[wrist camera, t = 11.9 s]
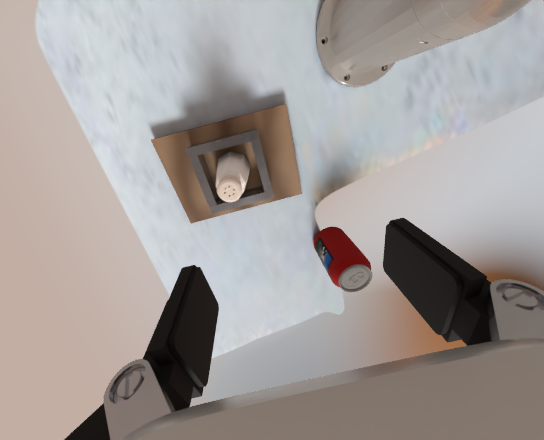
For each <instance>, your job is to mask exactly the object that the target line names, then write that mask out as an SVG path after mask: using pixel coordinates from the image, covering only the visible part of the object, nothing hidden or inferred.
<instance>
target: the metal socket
mask: <svg viewBox="0 0 544 440" xmlns="http://www.w3.org/2000/svg"><path fill="white" fill-rule="evenodd" d="M250 141H251V143H252V147H253V151H254V155H255V158H256V162H257V166H258V170H259V173H260V177H261V181H262V186H259V187H255V188H251V189H247V190H244V192H243V193H242V195H241V197H240V198H239V199H238V200H237V201H234V202H226V201H224V200H222V199H221V198H220V197H219V196H218V194H217V190H216V187H215V185H214V182H213V179H212V177H211V174H210V171H209V169H208V166H207V164H206V161H205V158H204V156H203V154H205V153H209V152H213V151H216V150H220V149H224V148H228V147H231V146H235V145H239V144H243V143H246V142H250ZM185 150H186V152H187V155H188V157H189V160H190V162H191V164H192V167H193V169H194V172H195V174H196V176H197V179H198V181H199V184H200V186H201V189H202V191H203V193H204V196H205V198H206V201H207V203H208V205H209V208H210V210H211V213H212V214H214V213H218V212H221V211H225V210H229V209H232V208H236V207H240V206H244V205H247V204H251V203H255V202H259V201H262V200H266V199H270V198H274V195H273V191H272V187H271V183H270V179H269V175H268V171H267V167H266V163H265V159H264V155H263V151H262V147H261V143H260V139H259V135H258V130H257V129H256V128H255V129H251V130H247V131H243V132H240V133H236V134H232V135H228V136H225V137H221V138H217V139H213V140H210V141H206V142H202V143H198V144H195V145H191V146H189V147H187V148H186V149H185Z"/></svg>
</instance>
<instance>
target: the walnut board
mask: <svg viewBox="0 0 544 440" xmlns="http://www.w3.org/2000/svg"><path fill="white" fill-rule="evenodd" d="M255 128H256V129H257V130H258V135H259V139H260V143H261V147H262V151H263V155H264V159H265V163H266V167H267V171H268V175H269V179H270V183H271V187H272V191H273V195H274V198H270V199H266V200H262V201H259V202H255V203H251V204H247V205H244V206H240V207H236V208H232V209H229V210H225V211H221V212H218V213H214V214H212V213H211V210H210V208H209V205H208V203H207V201H206V198H205V196H204V193H203V191H202V189H201V186H200V184H199V181H198V179H197V176H196V174H195V172H194V169H193V167H192V164H191V162H190V160H189V157H188V155H187V152H186V150H185V149H186V148H187V147H189V146H191V145H195V144H198V143H202V142H206V141H210V140H213V139H217V138H221V137H225V136H228V135H232V134H236V133H240V132H243V131H247V130H251V129H255ZM151 141H152V143H153V145H154V147H155V150H156V152H157V154H158V156H159V158H160V160H161V162H162V164H163V166H164V168H165V170H166V172H167V175H168V177H169V179H170V181H171V183H172V185H173V187H174V189H175V191H176V193H177V195H178V197H179V199H180V202H181V204H182V206H183V208H184V210H185V212H186V214H187V216H188V218H189V220H190V222H191V223H194V222H198V221H201V220H205V219H209V218H213V217H216V216H220V215H224V214H228V213H231V212H235V211H239V210H243V209H246V208H250V207H254V206H257V205H261V204H265V203H269V202H272V201H276V200H280V199H284V198H287V197H291V196H295V195H299V194H302V191H301V185H300V179H299V174H298V168H297V162H296V157H295V151H294V145H293V140H292V134H291V128H290V123H289V117H288V111H287V106H286V104H284V105H280V106H276V107H273V108H269V109H265V110H261V111H258V112H254V113H250V114H246V115H243V116H239V117H235V118H231V119H228V120H224V121H220V122H216V123H213V124H209V125H205V126H201V127H198V128H194V129H190V130H186V131H183V132H179V133H175V134H171V135H167V136H164V137H160V138H156V139H152V140H151ZM230 151H231V152H234V153H238V154H242V155H244V157H245V158H246V160H247V161H248V163H249V165H250V166H251V167H250V172H249V176H248V180H247V183H246V187H245V190H247V189H251V188H255V187H259V186H262V181H261V177H260V173H259V170H258V166H257V162H256V158H255V155H254V151H253V147H252V143H251V141H250V142H246V143H243V144H239V145H235V146H231V147H228V148H224V149H220V150H216V151H213V152H209V153H205V154H203V156H204V158H205V161H206V164H207V166H208V169H209V171H210V174H211V177H212V179H213V182H214V185H215V187H216V171H217V165H218V159H219V158H220V157H222V156H223V155H225V154H226V153H228V152H230ZM216 190H217V188H216Z"/></svg>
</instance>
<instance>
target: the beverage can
mask: <svg viewBox="0 0 544 440" xmlns="http://www.w3.org/2000/svg"><path fill="white" fill-rule="evenodd" d="M314 248H315V250H316V252H317V254H318V256H319V258H320V260H321V261H322V263H323V265H324V267H325V269H326V271H327V273H328V274H329V276H330V278H331V280H332V282H333V283H334V284H335V285H336V286H338V287H340V288H342V289H343V290H344V291H346V292H356V291H359V290H361V289H363V288H365V287H366V286H367V285H368V284H369V283H370V281H371V279H372V272H371V265H370V262H369V261H368V259H367V258H366V257H365V256H364V255H363V253H362V252H361V251H360V250H359V249H358V248H357V246H356V245H355V244H354V243H353V242H352V241H351V240H350V238H349V237H348V236H347V235H346V234H345V233H344V232H343V231H342V230H341V229H340V228H337V227H328V228H325V229H323V230H321V231H320V232H319V233H318V234H317V235H316V237H315V239H314Z"/></svg>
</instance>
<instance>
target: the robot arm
mask: <svg viewBox="0 0 544 440" xmlns="http://www.w3.org/2000/svg"><path fill="white" fill-rule="evenodd" d="M530 1H531V0H324V2H323V4H322V7H321V10H320V13H319V17H318V22H317V32H316V39H317V49H318V53H319V57H320V60H321V62H322V65H323V67H324V68H325V70H326V72H327V73H328V74H329V75H330V76H331V77H332V78H333V79H334V80H335V81H337V82H338V83H340V84H342V85H345V86H349V87H359V86H364V85H367V84H370V83H372V82H374V81H376V80H378V79H379V78H381V77H382V76H383V75H385V74H386V73H387V72H388V71H389V70H390V69H391V68H392V66H393V65H394V64H395V62H396V61H399V60H402V59H405V58H408V57H410V56H413V55H416V54H419V53H422V52H424V51H427V50H430V49H433V48H436V47H438V46H441V45H444V44H447V43H450V42H452V41H455V40H458V39H461V38H463V37H466V36H469V35H472V34H474V33H477V32H480V31H482V30H485V29H487V28H489V27H492V26H494V25H496V24H498V23H499V22H501V21H503V20H505V19H506V18H508V17H510V16H511V15H513V14H514V13H515V12H517V11H518V10H520V9H521V8H522V7H524V6H525V5H526V4H528V3H529V2H530ZM321 40H323V41H324V44H323V43H322V41H321ZM344 76H345V77H346V80H344ZM384 248H385V249H384V260H383V268H384V271H385V272H386V274H387V275H388V276H389V277H390V279H391V280H392V281H393V282H394V283H395V285H396V286H397V287H398V288H399V289H400V291H401V292H402V293H403V294H404V295H405V297H406V298H407V299H408V300H409V301H410V303H411V304H412V305H413V306H414V308H415V309H416V310H417V311H418V312H419V314H420V315H421V316H422V317H423V318H424V319H425V321H426V322H427V323H428V324H429V325H430V327H431V328H432V329H433V330H434V331H435V333H437V334H439V335H442V336H443V338H444V339H445V340H446V341H447V342H452V341H456V340H461V339H462V341H463V342H464V343H465V344H466V345H467V346H465V347H460V348H454V349H449V350H444V351H439V352H434V353H430V354H425V355H420V356H415V357H411V358H406V359H401V360H397V361H392V362H387V363H382V364H378V365H373V366H369V367H364V368H359V369H355V370H350V371H346V372H341V373H336V374H332V375H327V376H323V377H318V378H313V379H309V380H304V381H300V382H296V383H292V384H287V385H282V386H278V387H273V388H268V389H265V390H260V391H255V392H251V393H246V394H242V395H237V396H233V397H229V398H225V399H221V400H217V401H212V402H208V403H204V404H200V405H196V406H192V407H189V406H190V402H191V398H195V397H200V396H202V393H203V387H204V386H206V385H207V382H208V376H209V370H210V363H211V357H212V350H213V344H214V337H215V331H216V324H217V317H218V311H219V306H218V302H217V300H216V298H215V296H214V294H213V292H212V290H211V288H210V286H209V284H208V282H207V280H206V278H205V276H204V274H203V272H202V270H201V268H200V267H196V266H195V265H192V266H188V267H184V268H182V269H181V272H180V274H179V277H178V279H177V281H176V284H175V286H174V288H173V291H172V293H171V296H170V298H169V300H168V301H167V303H166V305H165V308H164V310H163V312H162V315H161V317H160V320H159V322H158V324H157V327H156V329H155V331H154V334H153V336H152V339H151V341H150V343H149V346H148V348H147V351H146V353H145V355H144V357H143V359H139V360H135V361H133V362H130V363H129V364H128V365H126V366H124V367H123V368H122V369H121V370H120V371H119V372H118V373H117V374H116V375H115V376H114V378H113V379H112V380H111V382H110V383H109V385H108V387H107V389H106V391H105V394H104V403H103V404H102V405H101V406H100V407H99V408H98V409H97V410H96V411H95V412H94V413H93V414H92V415H91V416H89V417H88V418H87V419H86V420H85V421H84V422H83V423H82V424H81V425H80V426H79V427H77V428H76V429H75V430H74V431H73V432H72V433H71V434H70V435H69V436H68V437H67V438H66V439H65V440H544V291H542V290H540V289H538V288H536V287H534V286H532V285H529V284H527V283H523V282H520V281H516V280H509V279H503V280H502V279H500V280H496V281H494V282H493V283H491V282H489V281H488V280H487V279H486V278H487V276H485V275H484V274H483V273H481V272H480V271H478V270H477V269H476V268H474V267H473V266H471V265H470V264H469V263H467V262H465V261H464V260H463V259H461V258H460V257H459V256H457V255H456V254H454V253H453V252H451V251H450V250H449V249H447V248H446V247H445V246H443V245H441V244H440V243H439V242H437V241H436V240H435V239H433V238H432V237H430V236H429V235H428V234H426V233H425V232H423V231H422V230H420V229H419V228H418V227H416V226H415V225H413V224H412V223H411V222H409V221H408V220H406V219H405V218H400V219H396V220H391V221H390V222H389V224H388V225H387V226H386V234H385V247H384Z"/></svg>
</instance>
